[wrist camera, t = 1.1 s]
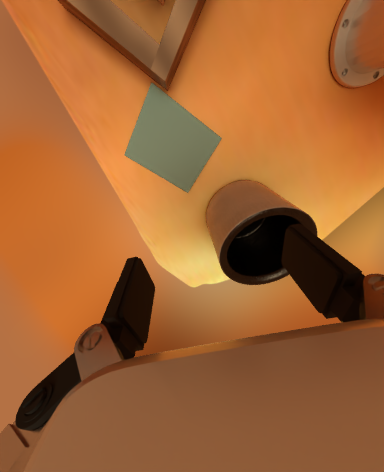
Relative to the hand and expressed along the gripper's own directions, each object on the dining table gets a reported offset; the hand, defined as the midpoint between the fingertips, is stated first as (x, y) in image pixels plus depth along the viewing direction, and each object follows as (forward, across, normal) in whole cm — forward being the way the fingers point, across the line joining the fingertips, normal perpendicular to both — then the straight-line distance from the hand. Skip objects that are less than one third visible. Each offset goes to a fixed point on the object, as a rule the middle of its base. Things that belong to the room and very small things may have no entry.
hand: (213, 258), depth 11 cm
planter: (+27, -9, +12) cm, 31 cm away
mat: (+27, +2, -5) cm, 27 cm away
